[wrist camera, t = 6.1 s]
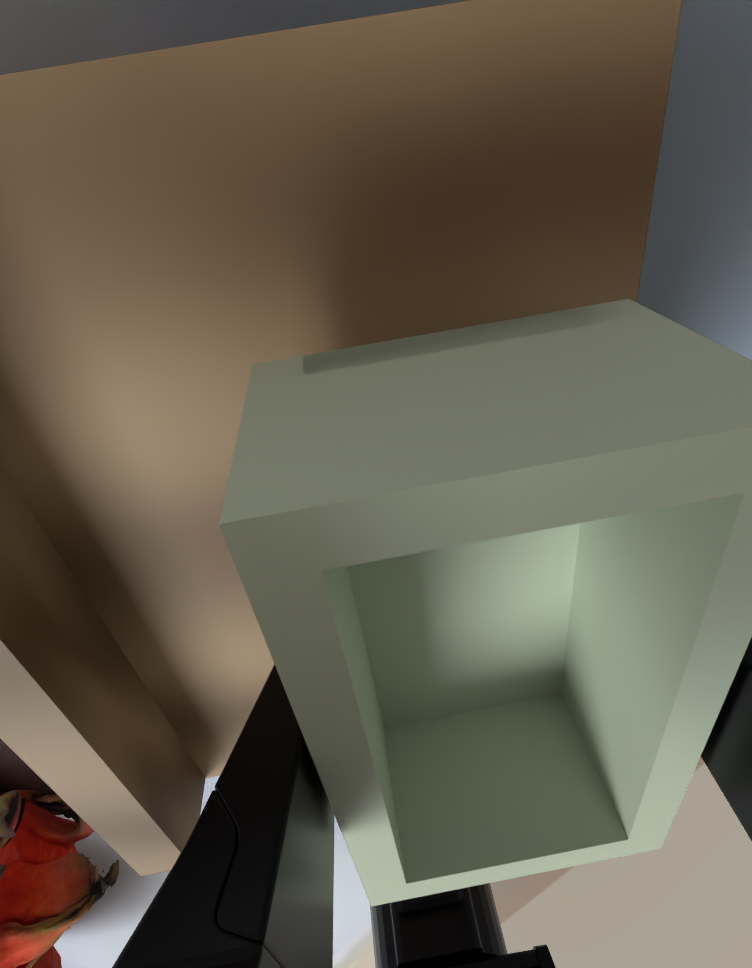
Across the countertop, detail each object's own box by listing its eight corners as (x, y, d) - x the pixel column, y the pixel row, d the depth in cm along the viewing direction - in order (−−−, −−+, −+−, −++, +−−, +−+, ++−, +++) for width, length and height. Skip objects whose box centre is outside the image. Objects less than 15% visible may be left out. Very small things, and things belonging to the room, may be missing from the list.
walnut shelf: (541, 635, 20) (612, 784, 15) (177, 704, 20) (140, 876, 15) (588, 8, 10) (842, -101, 5) (-174, 130, 9) (-622, 128, 5)
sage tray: (575, 678, 14) (661, 848, 11) (354, 721, 14) (371, 906, 10) (628, 298, 8) (849, 408, 5) (252, 364, 8) (218, 524, 5)
